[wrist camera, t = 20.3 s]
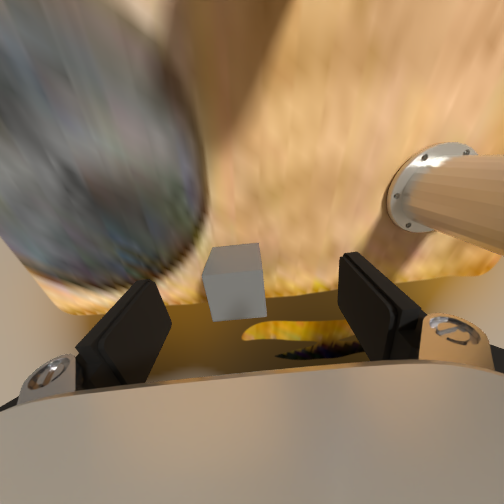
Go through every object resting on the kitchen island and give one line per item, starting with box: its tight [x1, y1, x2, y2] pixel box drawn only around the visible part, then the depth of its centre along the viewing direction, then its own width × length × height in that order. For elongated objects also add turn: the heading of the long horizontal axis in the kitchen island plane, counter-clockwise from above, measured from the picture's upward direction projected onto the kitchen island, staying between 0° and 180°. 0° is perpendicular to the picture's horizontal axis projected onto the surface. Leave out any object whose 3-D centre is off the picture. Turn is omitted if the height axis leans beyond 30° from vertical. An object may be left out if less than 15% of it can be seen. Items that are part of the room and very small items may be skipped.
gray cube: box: [202, 243, 267, 322], centre depth 31 cm, size 8×8×9 cm
